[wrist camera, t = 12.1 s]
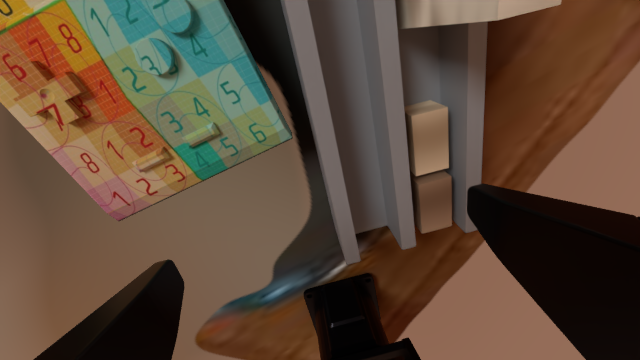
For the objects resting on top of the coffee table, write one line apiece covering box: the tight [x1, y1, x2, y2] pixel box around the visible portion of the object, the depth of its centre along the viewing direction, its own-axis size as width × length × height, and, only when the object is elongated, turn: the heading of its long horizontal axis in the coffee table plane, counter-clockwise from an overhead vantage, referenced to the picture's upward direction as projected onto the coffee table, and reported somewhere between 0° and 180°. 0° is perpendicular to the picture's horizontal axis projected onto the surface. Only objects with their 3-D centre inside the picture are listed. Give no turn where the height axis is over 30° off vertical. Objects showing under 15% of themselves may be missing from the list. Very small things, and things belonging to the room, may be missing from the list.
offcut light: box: [404, 100, 449, 176], centre depth 19 cm, size 4×2×2 cm, turn 13°
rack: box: [281, 0, 488, 265], centre depth 17 cm, size 24×10×4 cm, turn 12°
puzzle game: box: [0, 0, 292, 221], centre depth 14 cm, size 12×5×20 cm
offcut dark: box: [410, 169, 452, 234], centre depth 21 cm, size 4×2×2 cm, turn 13°
